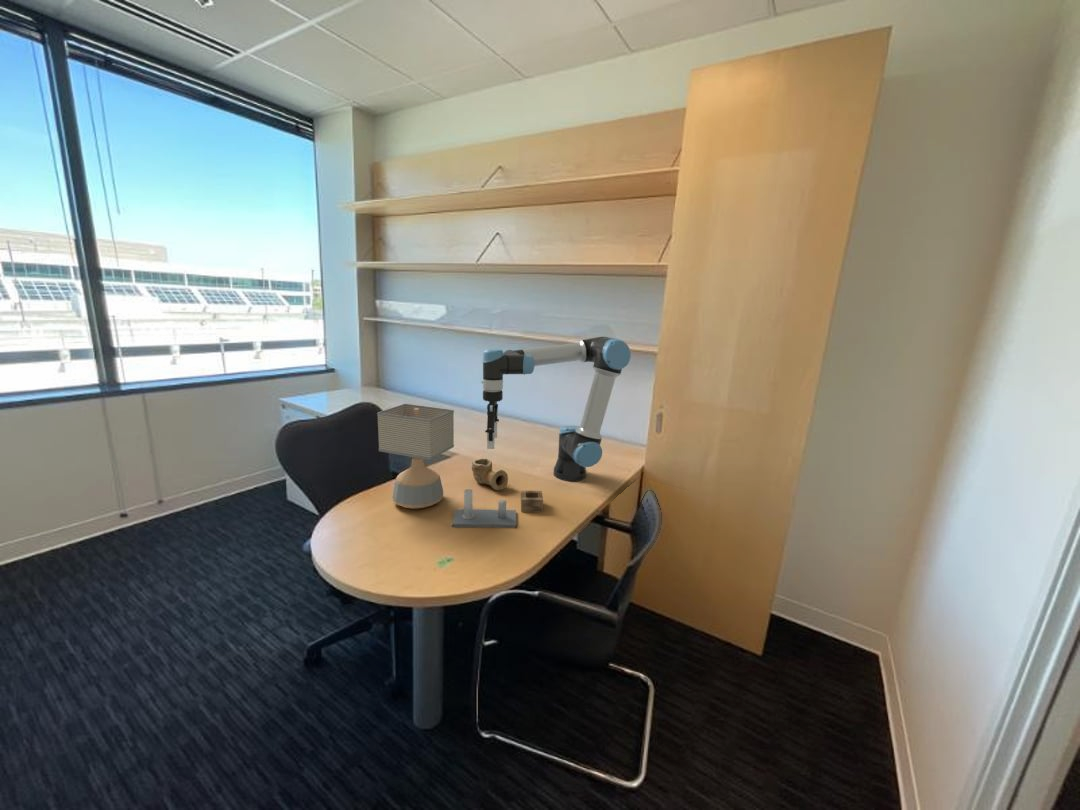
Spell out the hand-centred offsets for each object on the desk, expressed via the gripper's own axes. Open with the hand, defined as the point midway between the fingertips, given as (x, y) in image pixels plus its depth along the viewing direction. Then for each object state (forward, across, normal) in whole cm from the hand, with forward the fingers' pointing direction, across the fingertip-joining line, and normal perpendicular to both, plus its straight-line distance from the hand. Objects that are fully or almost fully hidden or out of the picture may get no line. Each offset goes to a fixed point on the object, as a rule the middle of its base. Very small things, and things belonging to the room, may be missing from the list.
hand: (492, 442), depth 169 cm
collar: (+22, +10, +16) cm, 29 cm away
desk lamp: (+22, +8, -28) cm, 36 cm away
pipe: (+22, -9, -2) cm, 24 cm away
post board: (+22, +21, -1) cm, 30 cm away
